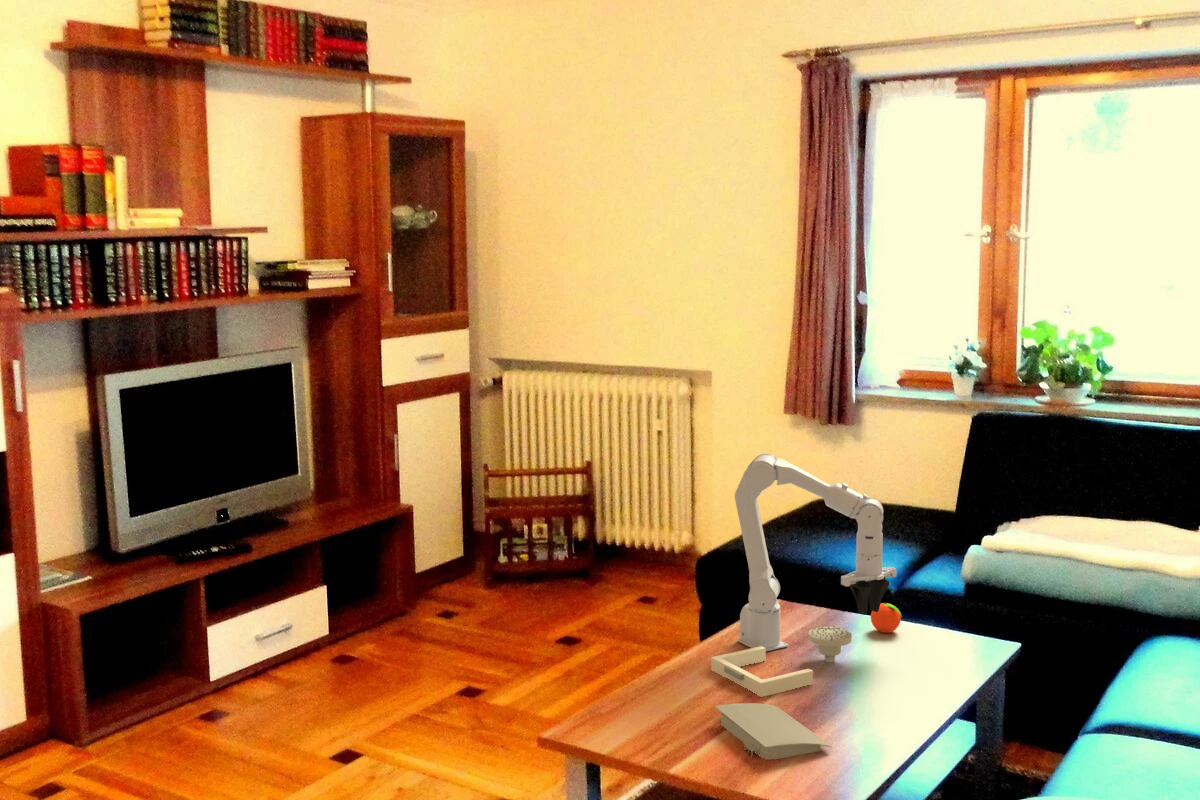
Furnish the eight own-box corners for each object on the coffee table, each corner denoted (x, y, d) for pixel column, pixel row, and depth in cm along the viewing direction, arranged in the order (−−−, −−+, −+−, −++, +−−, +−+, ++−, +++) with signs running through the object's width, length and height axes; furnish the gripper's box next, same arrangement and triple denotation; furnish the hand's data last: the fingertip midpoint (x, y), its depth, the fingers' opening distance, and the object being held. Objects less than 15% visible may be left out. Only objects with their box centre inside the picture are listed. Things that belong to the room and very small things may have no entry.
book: (760, 772, 218) (760, 751, 217) (704, 724, 239) (704, 705, 239) (835, 757, 223) (835, 737, 223) (773, 712, 245) (773, 693, 244)
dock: (708, 671, 266) (708, 657, 266) (761, 659, 273) (761, 646, 273) (757, 698, 251) (757, 684, 250) (812, 684, 258) (813, 670, 257)
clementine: (910, 632, 289) (910, 603, 288) (893, 639, 284) (894, 610, 283) (881, 625, 295) (881, 596, 294) (864, 632, 290) (865, 603, 289)
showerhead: (810, 636, 266) (806, 622, 276) (809, 668, 267) (806, 653, 277) (854, 637, 265) (849, 622, 275) (853, 669, 266) (849, 653, 276)
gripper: (856, 561, 266) (855, 622, 268) (906, 552, 273) (905, 611, 275) (835, 554, 272) (834, 613, 274) (884, 545, 279) (883, 603, 281)
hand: (868, 612), depth 275 cm, fingers open, 3 cm apart
